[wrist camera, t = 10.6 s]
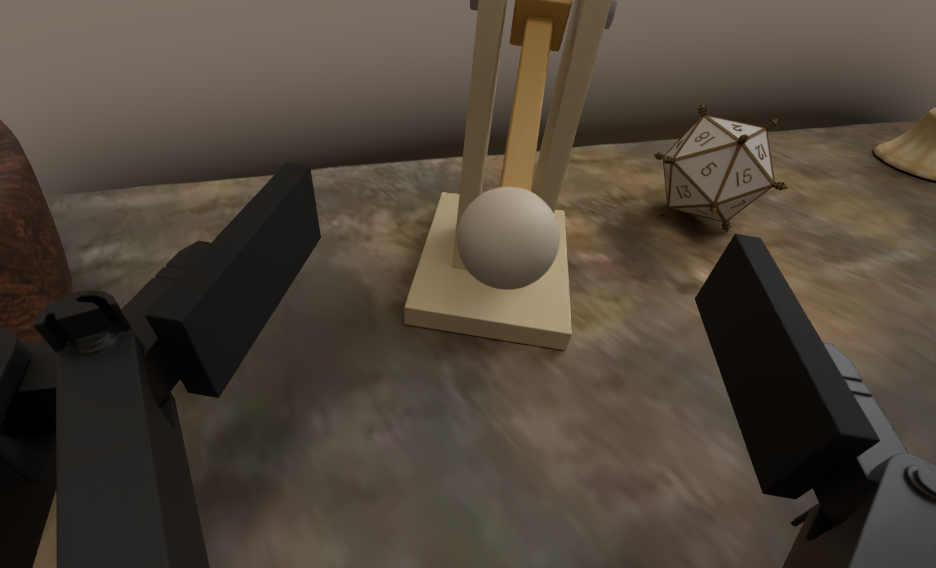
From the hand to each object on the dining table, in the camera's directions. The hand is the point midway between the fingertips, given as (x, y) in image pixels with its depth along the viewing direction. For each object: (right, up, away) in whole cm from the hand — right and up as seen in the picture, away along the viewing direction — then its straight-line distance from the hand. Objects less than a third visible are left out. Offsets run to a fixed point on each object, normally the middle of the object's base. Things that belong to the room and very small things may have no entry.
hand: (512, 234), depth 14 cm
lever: (+1, +5, +5) cm, 7 cm away
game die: (+17, +4, +22) cm, 28 cm away
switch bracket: (0, -1, +15) cm, 15 cm away
